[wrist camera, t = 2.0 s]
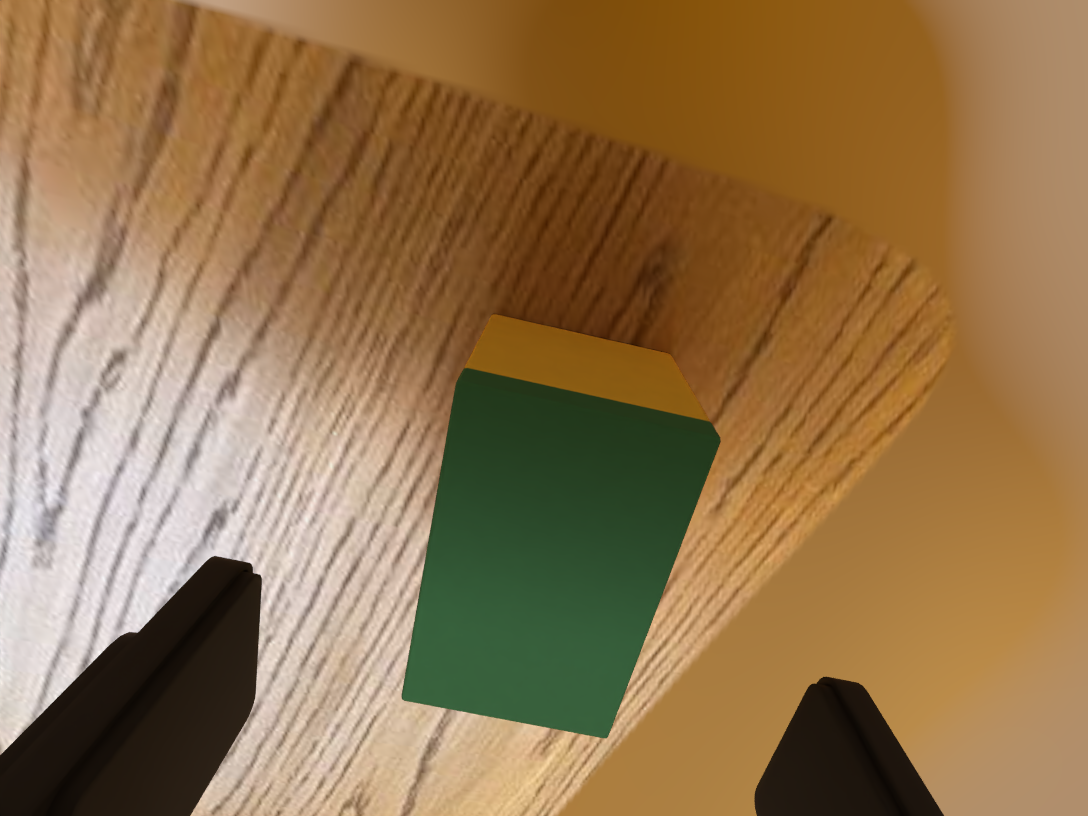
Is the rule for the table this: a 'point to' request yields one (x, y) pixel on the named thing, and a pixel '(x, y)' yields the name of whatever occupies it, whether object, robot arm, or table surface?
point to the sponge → (554, 525)
